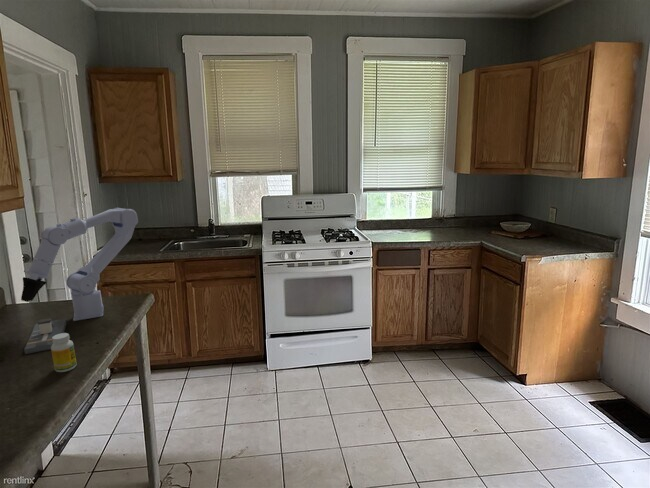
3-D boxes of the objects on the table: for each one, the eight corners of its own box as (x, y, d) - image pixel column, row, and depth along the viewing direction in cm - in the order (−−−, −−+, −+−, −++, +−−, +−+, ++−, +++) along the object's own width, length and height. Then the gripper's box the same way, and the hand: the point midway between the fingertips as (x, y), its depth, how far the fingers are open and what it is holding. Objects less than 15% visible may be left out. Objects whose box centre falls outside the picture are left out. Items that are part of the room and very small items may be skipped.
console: (66, 322, 154) (65, 315, 153) (59, 347, 134) (58, 339, 134) (36, 327, 150) (35, 320, 149) (25, 354, 131) (23, 345, 130)
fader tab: (53, 329, 144) (51, 318, 143) (52, 332, 141) (50, 320, 140) (41, 331, 142) (38, 320, 141) (39, 334, 140) (37, 322, 139)
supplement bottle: (55, 366, 123) (50, 334, 120) (77, 361, 125) (72, 330, 123) (53, 374, 118) (47, 341, 116) (76, 369, 120) (71, 337, 118)
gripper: (33, 258, 151) (16, 296, 148) (26, 256, 138) (8, 297, 135) (55, 264, 154) (39, 301, 151) (51, 263, 141) (33, 304, 138)
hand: (26, 300), depth 143 cm, fingers open, 7 cm apart
